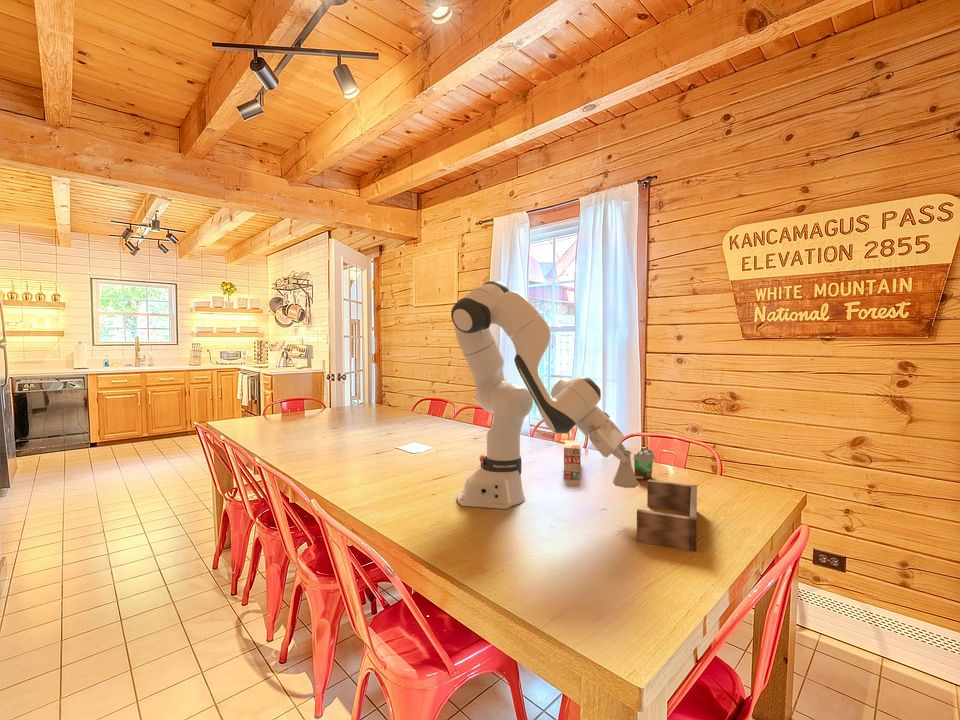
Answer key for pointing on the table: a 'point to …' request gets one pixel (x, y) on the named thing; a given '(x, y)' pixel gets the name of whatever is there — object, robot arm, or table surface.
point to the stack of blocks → (572, 459)
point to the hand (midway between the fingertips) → (627, 459)
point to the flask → (625, 473)
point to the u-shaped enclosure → (669, 516)
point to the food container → (643, 464)
